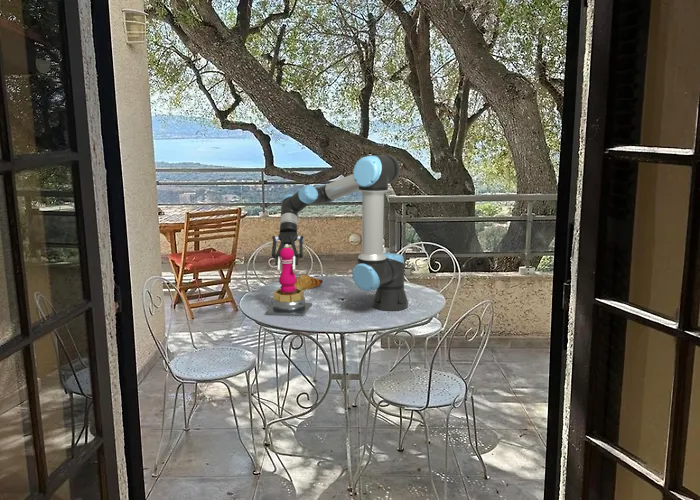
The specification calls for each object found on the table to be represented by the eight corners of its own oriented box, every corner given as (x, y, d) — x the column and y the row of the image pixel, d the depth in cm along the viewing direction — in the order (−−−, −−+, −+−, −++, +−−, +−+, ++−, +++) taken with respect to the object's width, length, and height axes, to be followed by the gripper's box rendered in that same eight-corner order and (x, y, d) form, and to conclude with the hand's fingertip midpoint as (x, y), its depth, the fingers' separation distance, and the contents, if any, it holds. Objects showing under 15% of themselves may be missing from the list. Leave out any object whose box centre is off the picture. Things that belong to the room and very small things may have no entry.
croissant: (284, 299, 293) (286, 286, 289) (277, 285, 300) (279, 273, 296) (324, 292, 302) (327, 280, 298) (317, 279, 309) (319, 267, 305)
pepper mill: (293, 293, 257) (292, 245, 253) (277, 292, 258) (275, 245, 255) (298, 288, 264) (297, 242, 260) (282, 288, 265) (280, 242, 261)
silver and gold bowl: (311, 305, 269) (311, 287, 267) (303, 316, 253) (302, 297, 252) (276, 304, 271) (275, 286, 270) (265, 315, 256) (264, 295, 254)
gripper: (310, 230, 272) (309, 275, 259) (268, 231, 272) (265, 276, 259) (309, 220, 266) (308, 265, 253) (266, 221, 265) (262, 266, 253)
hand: (286, 271), depth 256 cm, fingers closed on pepper mill, 6 cm apart
